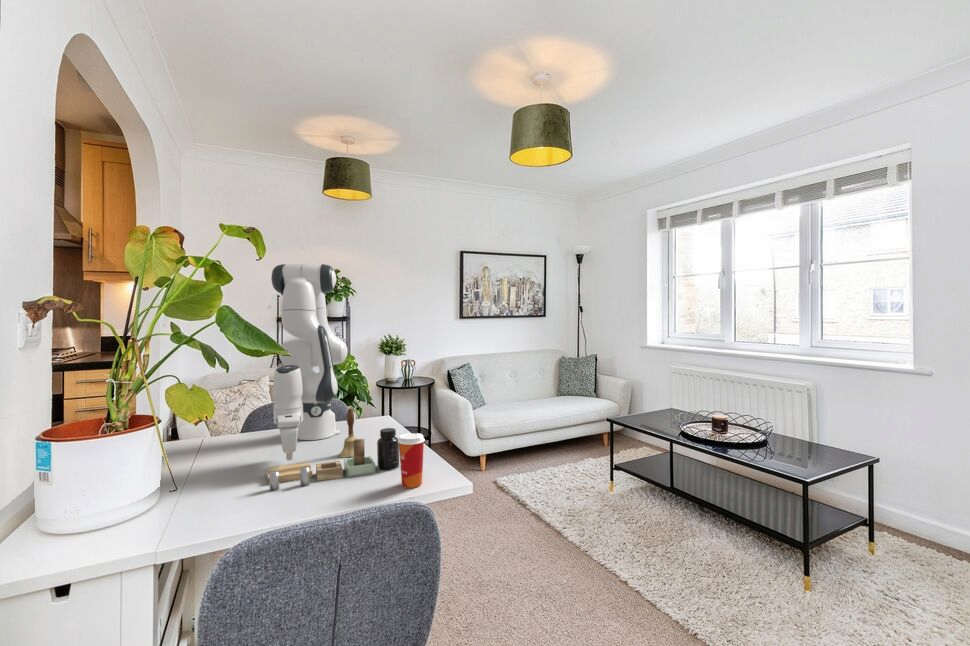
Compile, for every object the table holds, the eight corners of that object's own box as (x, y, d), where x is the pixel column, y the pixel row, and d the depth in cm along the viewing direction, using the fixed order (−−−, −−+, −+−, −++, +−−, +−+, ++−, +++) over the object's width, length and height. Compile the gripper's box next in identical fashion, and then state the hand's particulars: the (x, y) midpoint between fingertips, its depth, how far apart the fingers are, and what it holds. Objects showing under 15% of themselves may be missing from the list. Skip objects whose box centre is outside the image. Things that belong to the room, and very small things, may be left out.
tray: (344, 469, 146) (344, 459, 146) (370, 465, 149) (370, 456, 149) (347, 477, 138) (347, 467, 138) (375, 473, 141) (375, 463, 141)
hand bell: (334, 457, 158) (333, 410, 158) (347, 449, 166) (346, 405, 166) (355, 458, 156) (354, 411, 156) (368, 451, 164) (367, 406, 164)
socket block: (316, 473, 142) (316, 463, 142) (339, 470, 145) (339, 460, 145) (317, 481, 135) (317, 471, 135) (342, 477, 138) (342, 467, 138)
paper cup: (401, 479, 136) (400, 432, 135) (427, 479, 136) (426, 432, 135) (395, 490, 128) (394, 439, 128) (423, 490, 128) (422, 439, 127)
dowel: (353, 468, 145) (353, 439, 144) (363, 466, 146) (363, 438, 146) (354, 471, 142) (354, 442, 142) (365, 469, 143) (365, 440, 143)
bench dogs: (269, 488, 130) (269, 471, 130) (309, 482, 134) (308, 465, 134) (269, 491, 128) (269, 473, 128) (309, 485, 132) (309, 468, 132)
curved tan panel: (267, 475, 142) (267, 467, 142) (309, 469, 147) (309, 461, 147) (268, 486, 133) (267, 477, 133) (312, 479, 138) (312, 471, 138)
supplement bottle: (373, 467, 147) (372, 430, 147) (391, 462, 152) (390, 425, 152) (385, 472, 142) (385, 433, 142) (403, 466, 147) (403, 429, 147)
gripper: (278, 411, 157) (279, 451, 157) (277, 423, 138) (278, 469, 139) (298, 409, 160) (299, 449, 160) (300, 421, 141) (301, 466, 141)
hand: (289, 459), depth 149 cm, fingers closed
